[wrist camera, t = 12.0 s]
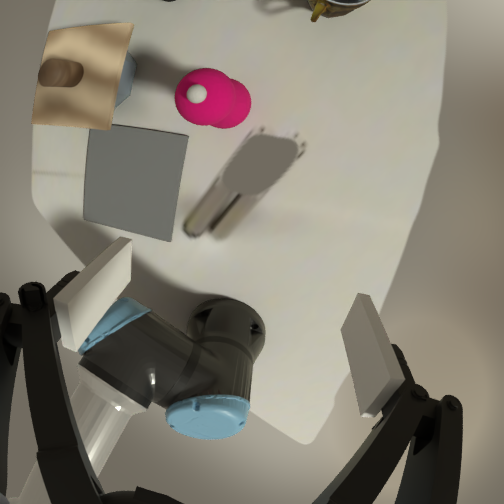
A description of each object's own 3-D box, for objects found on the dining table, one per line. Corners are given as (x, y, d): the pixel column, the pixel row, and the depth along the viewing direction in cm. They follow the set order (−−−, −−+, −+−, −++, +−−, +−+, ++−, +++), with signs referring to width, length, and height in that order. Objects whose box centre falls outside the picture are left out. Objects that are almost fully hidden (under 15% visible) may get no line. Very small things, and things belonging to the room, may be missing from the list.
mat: (171, 240, 51) (170, 242, 50) (85, 218, 50) (83, 219, 50) (188, 136, 43) (187, 136, 43) (93, 122, 43) (91, 122, 42)
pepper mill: (201, 88, 40) (148, 68, 22) (248, 77, 39) (227, 45, 21) (210, 132, 43) (164, 141, 25) (257, 122, 42) (243, 123, 24)
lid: (110, 129, 36) (82, 133, 30) (35, 123, 36) (6, 128, 29) (134, 24, 30) (109, 11, 23) (53, 32, 29) (25, 26, 23)
